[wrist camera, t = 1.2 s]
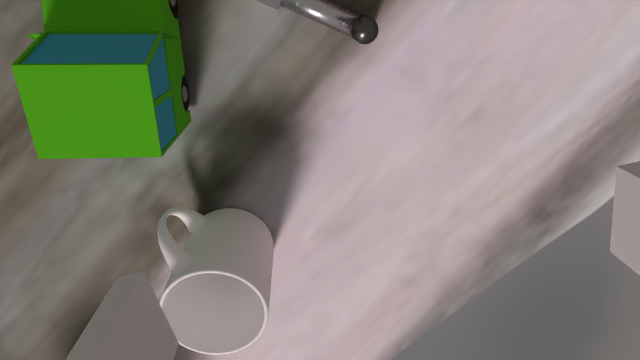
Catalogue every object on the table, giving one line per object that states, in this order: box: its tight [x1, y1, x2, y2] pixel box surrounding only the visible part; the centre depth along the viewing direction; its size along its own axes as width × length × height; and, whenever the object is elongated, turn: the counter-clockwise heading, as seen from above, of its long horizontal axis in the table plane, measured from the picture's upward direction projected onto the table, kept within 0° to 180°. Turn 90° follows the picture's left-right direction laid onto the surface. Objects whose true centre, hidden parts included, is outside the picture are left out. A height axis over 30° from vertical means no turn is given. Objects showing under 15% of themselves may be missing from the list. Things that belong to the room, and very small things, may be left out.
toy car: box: [11, 0, 191, 159], centre depth 30 cm, size 10×13×10 cm
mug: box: [158, 207, 274, 355], centre depth 37 cm, size 9×12×11 cm
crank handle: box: [257, 0, 378, 44], centre depth 33 cm, size 10×2×3 cm, turn 68°
